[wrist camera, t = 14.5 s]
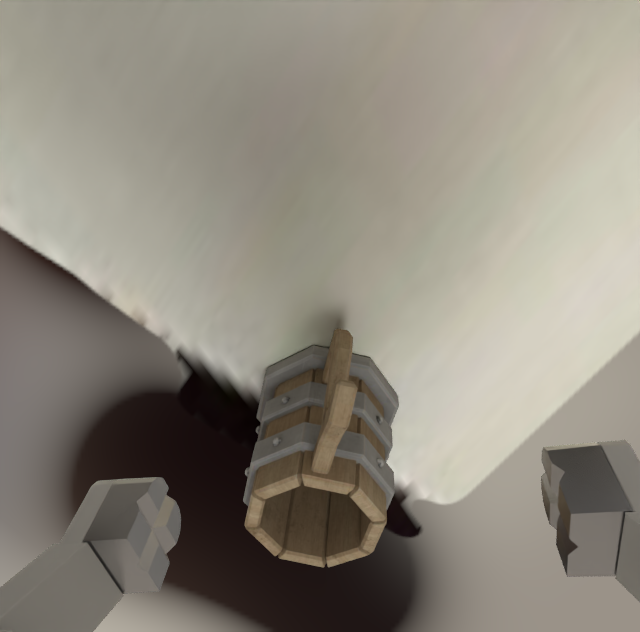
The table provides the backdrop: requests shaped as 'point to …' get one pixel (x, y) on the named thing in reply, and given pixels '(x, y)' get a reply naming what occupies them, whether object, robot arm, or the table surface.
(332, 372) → the tankard
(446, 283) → the table surface
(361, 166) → the table surface
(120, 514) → the robot arm
